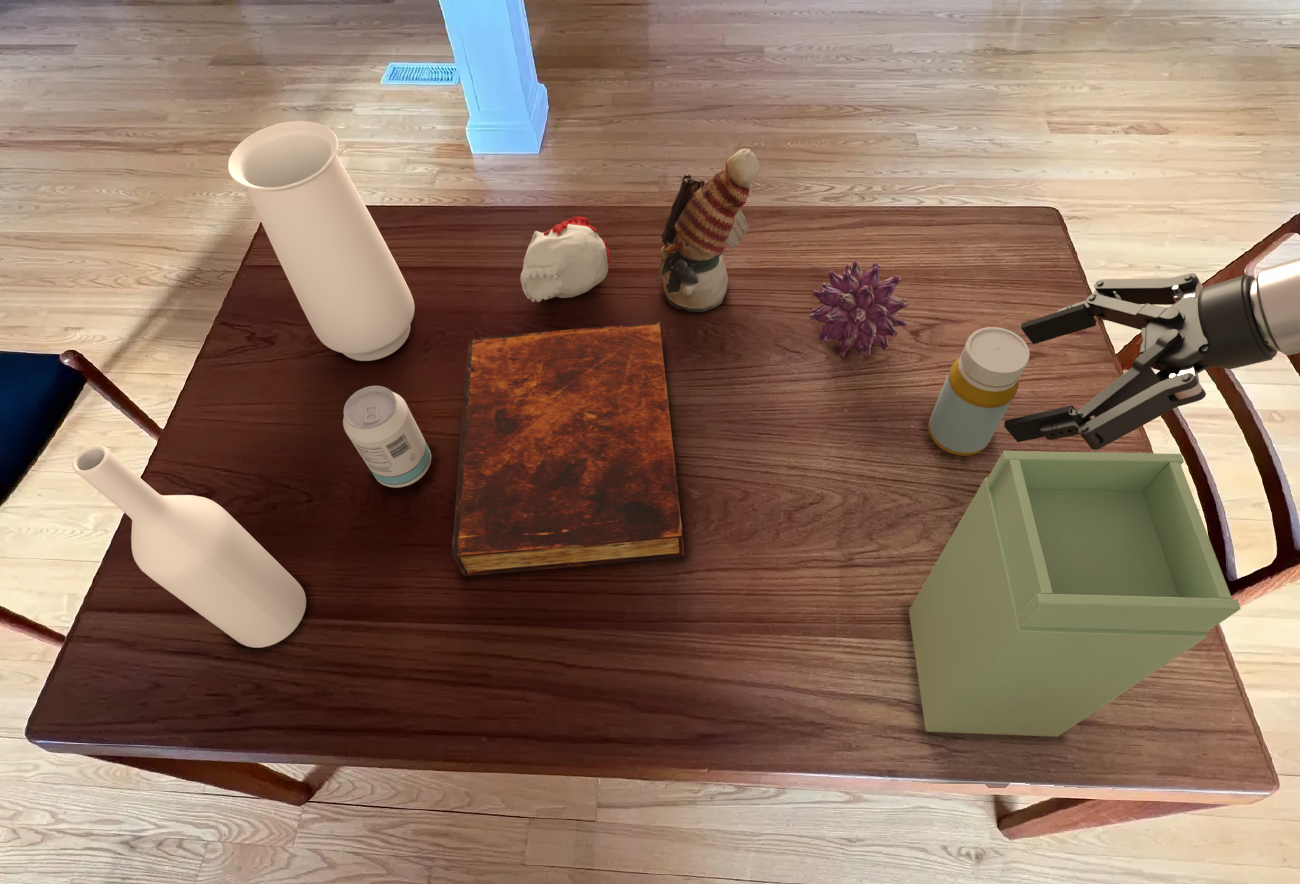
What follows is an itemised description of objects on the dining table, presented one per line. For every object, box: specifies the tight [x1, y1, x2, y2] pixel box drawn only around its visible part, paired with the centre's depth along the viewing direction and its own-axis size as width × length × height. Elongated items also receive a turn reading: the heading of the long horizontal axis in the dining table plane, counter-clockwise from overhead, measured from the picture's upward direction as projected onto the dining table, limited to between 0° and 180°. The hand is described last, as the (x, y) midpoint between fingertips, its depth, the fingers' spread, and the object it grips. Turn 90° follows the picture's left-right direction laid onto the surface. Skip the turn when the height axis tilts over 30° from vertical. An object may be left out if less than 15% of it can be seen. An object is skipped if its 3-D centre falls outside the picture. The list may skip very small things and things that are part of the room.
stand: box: [908, 450, 1242, 738], centre depth 64 cm, size 12×12×30 cm
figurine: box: [655, 148, 760, 313], centre depth 99 cm, size 13×12×20 cm
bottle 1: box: [71, 444, 307, 649], centre depth 72 cm, size 8×8×30 cm
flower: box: [808, 259, 909, 358], centre depth 96 cm, size 12×12×12 cm
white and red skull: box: [519, 215, 611, 303], centre depth 106 cm, size 9×11×15 cm
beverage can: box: [342, 385, 432, 488], centre depth 89 cm, size 7×7×12 cm
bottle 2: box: [927, 326, 1030, 457], centre depth 86 cm, size 7×7×15 cm
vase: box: [227, 120, 416, 362], centre depth 94 cm, size 13×13×28 cm
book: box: [451, 321, 686, 577], centre depth 91 cm, size 30×24×5 cm
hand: (1019, 380), depth 82 cm, fingers open, 13 cm apart
